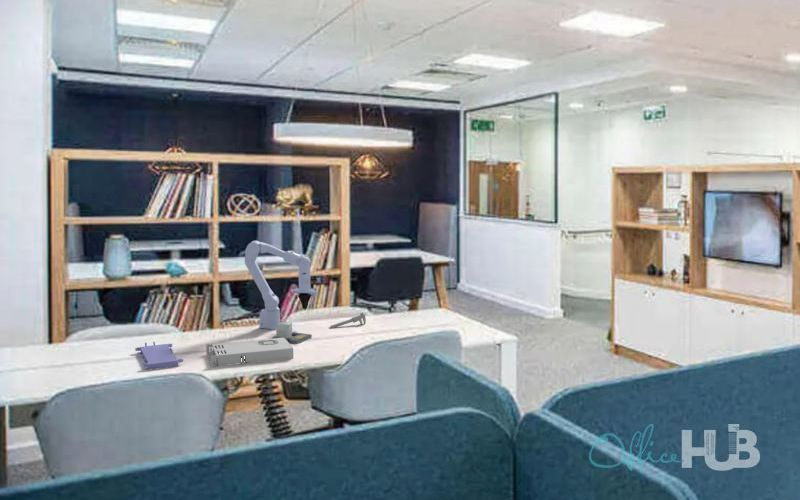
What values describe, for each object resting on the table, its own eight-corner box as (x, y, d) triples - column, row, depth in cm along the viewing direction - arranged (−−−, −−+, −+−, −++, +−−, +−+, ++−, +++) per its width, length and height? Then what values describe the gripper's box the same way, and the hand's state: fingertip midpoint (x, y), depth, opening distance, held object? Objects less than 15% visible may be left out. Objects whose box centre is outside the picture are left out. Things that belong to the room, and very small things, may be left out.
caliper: (364, 323, 329) (364, 311, 328) (365, 324, 328) (365, 312, 328) (328, 328, 319) (328, 316, 318) (329, 329, 318) (329, 316, 317)
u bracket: (272, 340, 294) (272, 337, 294) (287, 334, 305) (287, 331, 305) (297, 343, 289) (297, 340, 289) (311, 337, 300) (311, 334, 299)
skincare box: (289, 340, 295) (288, 324, 294) (276, 340, 295) (275, 324, 295) (292, 337, 301) (292, 321, 300) (279, 336, 302) (279, 321, 301)
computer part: (171, 348, 282) (134, 352, 275) (170, 339, 281) (134, 343, 274) (183, 366, 256) (143, 371, 249) (183, 356, 255) (143, 361, 248)
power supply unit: (206, 356, 271) (206, 344, 271) (284, 348, 283) (284, 337, 283) (211, 368, 254) (210, 356, 253) (293, 359, 266) (293, 348, 265)
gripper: (287, 281, 318) (288, 308, 319) (312, 283, 312) (313, 311, 313) (295, 279, 324) (296, 305, 326) (320, 281, 318) (320, 308, 320)
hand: (304, 308), depth 320 cm, fingers closed
